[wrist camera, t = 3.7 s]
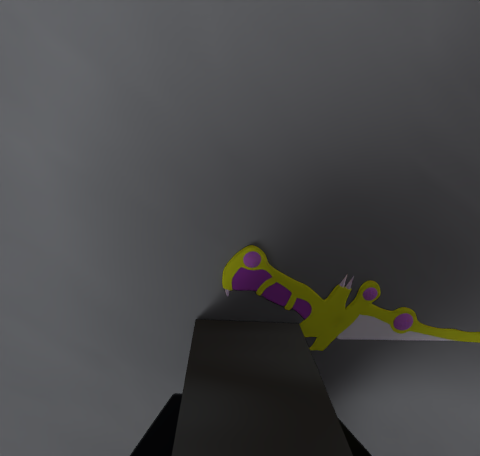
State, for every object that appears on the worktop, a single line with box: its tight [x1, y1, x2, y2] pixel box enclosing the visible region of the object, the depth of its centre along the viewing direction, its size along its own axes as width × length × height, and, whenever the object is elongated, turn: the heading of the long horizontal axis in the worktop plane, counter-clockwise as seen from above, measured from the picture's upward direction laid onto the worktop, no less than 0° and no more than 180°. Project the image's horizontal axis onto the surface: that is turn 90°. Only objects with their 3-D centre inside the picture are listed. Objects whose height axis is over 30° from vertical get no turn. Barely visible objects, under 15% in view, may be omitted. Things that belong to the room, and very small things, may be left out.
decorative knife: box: [222, 245, 480, 351], centre depth 9 cm, size 12×1×5 cm
